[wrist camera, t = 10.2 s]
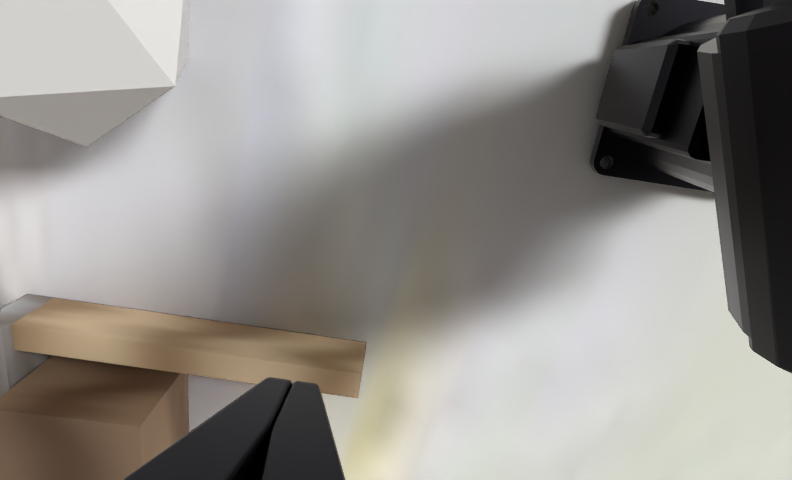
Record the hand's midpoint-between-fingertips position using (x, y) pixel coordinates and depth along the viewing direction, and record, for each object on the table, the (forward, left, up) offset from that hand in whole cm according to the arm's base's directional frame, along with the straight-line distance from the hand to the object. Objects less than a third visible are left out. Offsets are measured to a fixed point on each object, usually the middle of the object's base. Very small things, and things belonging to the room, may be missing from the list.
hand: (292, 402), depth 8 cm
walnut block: (+10, +12, -13) cm, 21 cm away
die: (+10, -6, -13) cm, 18 cm away
